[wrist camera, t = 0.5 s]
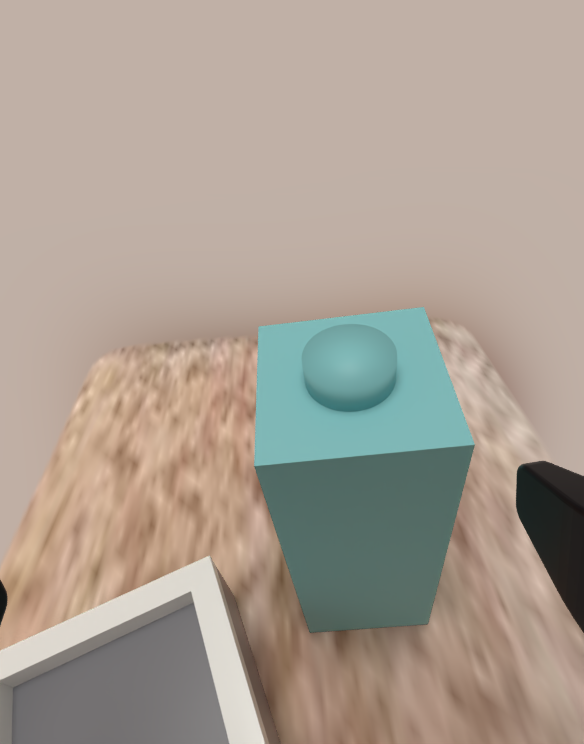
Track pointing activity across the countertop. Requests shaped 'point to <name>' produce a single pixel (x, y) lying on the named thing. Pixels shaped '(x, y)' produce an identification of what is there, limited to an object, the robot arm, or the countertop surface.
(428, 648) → the countertop surface
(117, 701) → the tower base
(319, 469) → the tall brick
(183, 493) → the countertop surface
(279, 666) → the countertop surface
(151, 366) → the countertop surface
